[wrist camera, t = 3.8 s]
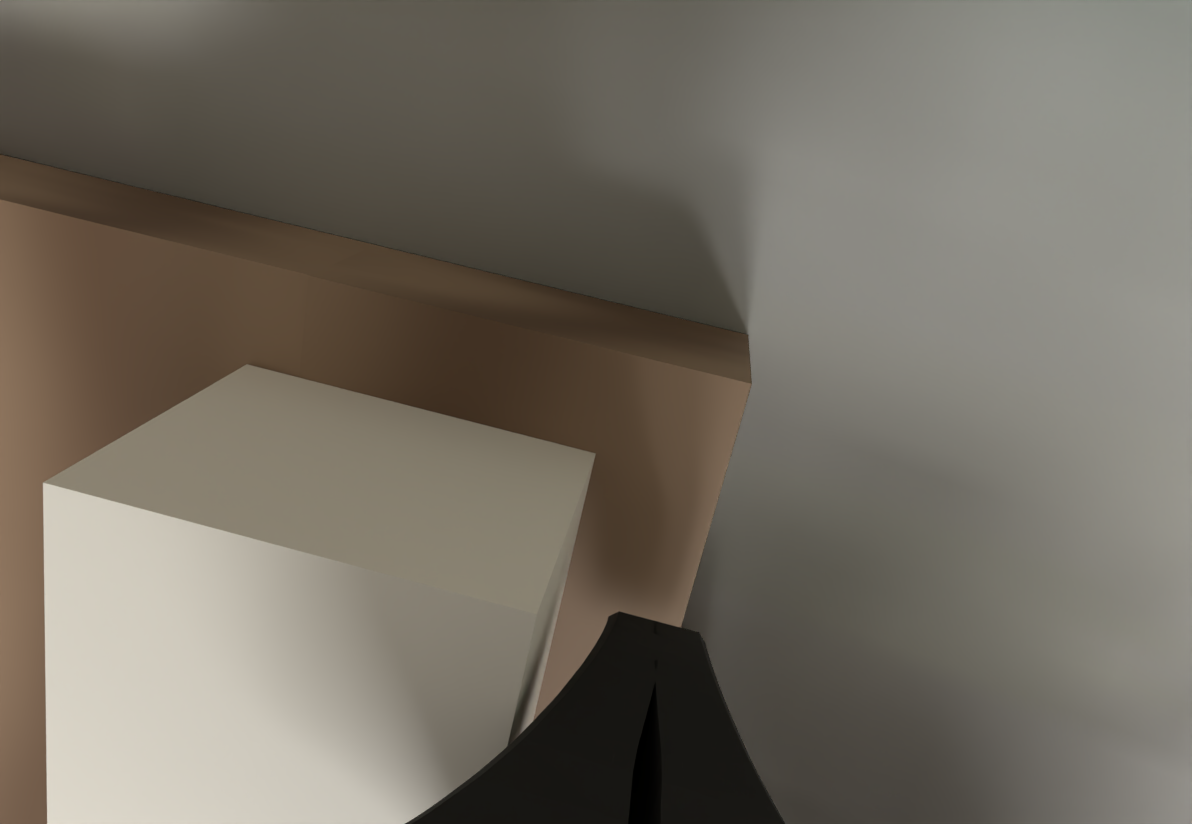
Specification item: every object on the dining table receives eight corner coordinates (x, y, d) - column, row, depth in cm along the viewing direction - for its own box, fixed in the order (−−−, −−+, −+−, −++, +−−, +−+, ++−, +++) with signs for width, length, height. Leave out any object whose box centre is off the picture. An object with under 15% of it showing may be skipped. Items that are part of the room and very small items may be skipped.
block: (595, 453, 12) (537, 614, 9) (528, 740, 14) (455, 976, 10) (247, 364, 13) (43, 482, 9) (225, 656, 14) (47, 857, 11)
